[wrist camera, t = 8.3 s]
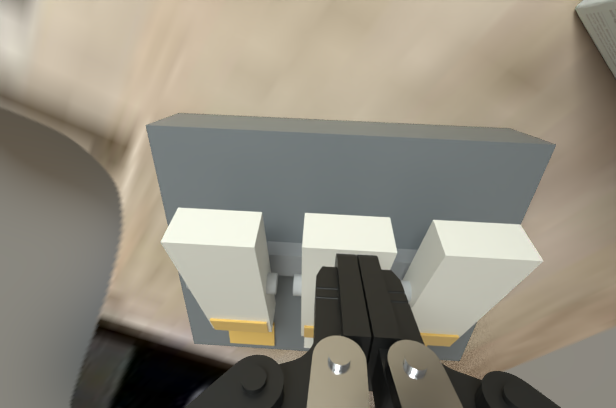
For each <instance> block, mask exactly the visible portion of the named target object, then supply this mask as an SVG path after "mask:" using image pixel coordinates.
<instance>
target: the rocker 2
mask: <svg viewBox="0 0 616 408" xmlns="http://www.w3.org/2000/svg"><path fill="white" fill-rule="evenodd" d="M542 262H543V260H542V258H541V256H540V255H539V253H538V252H537V250H536V249H535V247H534V245H533V244H532V242H531V241H530V239H529V238H528V236H527V234H526V233H525V231H524V230H523V228H522V227H521V225H520V224H502V223H484V222H465V221H447V220H433V221H432V223H431V225H430V227H429V229H428V231H427V233H426V235H425V237H424V239H423V241H422V243H421V245H420V247H419V249H418V251H417V253H416V255H415V257H414V258H413V260H412V262H411V264H410V266H409V268H408V270H407V272H406V274H405V276H404V278H403V280H401V283H402V285H403V288H404V291H405V294H406V296H407V299H408V304H410V307H411V310H412V312H413V315H414V318H415V321H416V323H417V326H418V329H419V331H420V334H421V337H422V339H423V342H424V344H425V345H432V346H447V347H450V346H451V345H452V344H453V343H454V342H455V341H456V340H458V339H459V338H460V337H461V336H462V335H463V334H464V333H465V332H466V331H467V330H468V329H470V328H471V327H472V326H473V325H474V324H475V323H476V322H477V321H478V320H479V319H480V318H482V317H483V316H484V315H485V314H486V313H487V312H488V311H489V310H490V309H491V308H493V307H494V306H495V305H496V304H497V303H498V302H499V301H500V300H501V299H502V298H504V297H505V296H506V295H507V294H508V293H509V292H510V291H511V290H512V289H513V288H515V287H516V286H517V285H518V284H519V283H520V282H521V281H522V280H523V279H524V278H526V277H527V276H528V275H529V274H530V273H531V272H532V271H533V270H534V269H535V268H537V267H538V266H539V265H540V264H541V263H542Z"/></svg>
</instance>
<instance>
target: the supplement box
mask: <svg viewBox="0 0 616 408" xmlns="http://www.w3.org/2000/svg"><path fill="white" fill-rule="evenodd" d="M575 10H576V11H577V13H578V16H579V17H580V19H581V21H582V22H583V24H584V26H585V28H586V29H587V31H588V33H589V34H590V36H591V38H592V39H593V41H594V43H595V45H596V47H597V48H598V50H599V51H600V53H601V55H602V56H603V58H604V60H605V62H606V63H607V65H608V67H609V68H610V70H611V71H612V73H613V75H614V77H615V78H616V0H583V1H582V2H581V3H579V4H578V5H577V6H576V8H575Z"/></svg>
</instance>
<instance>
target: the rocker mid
mask: <svg viewBox="0 0 616 408" xmlns="http://www.w3.org/2000/svg"><path fill="white" fill-rule="evenodd" d="M336 253H339V254H356V255H357V254H358V255H376V256H377V257H378V260H379V263H380V267H381V270H390V269H391V267H392V264H393V262H394V260H395V257H396V255H397V248H396V244H395V239H394V234H393V229H392V224H391V219H390V217H373V216H355V215H336V214H318V213H305V217H304V229H303V241H302V274H294V282H293V296H301V336H304V337H308V338H313V335H314V303H315V287H316V275H317V274H318V272H319V270H320V269H321V267H322V266H325V267H335V257H336Z"/></svg>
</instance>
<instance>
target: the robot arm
mask: <svg viewBox="0 0 616 408" xmlns="http://www.w3.org/2000/svg"><path fill="white" fill-rule="evenodd" d="M369 391H373V396H374V402H375V407H374V408H561V407H559V406H558V405H556V404H555V403H554V402H552V401H551V400H550V399H548V398H547V397H546V396H544V395H543V394H542V393H540V392H539V391H537V390H536V389H534V388H533V387H532V386H531V385H529V384H528V383H526V382H525V381H523V380H522V379H520V378H518V377H517V376H514V375H512V374H509V373H506V372H501V371H493V372H489V373H487V374H486V375H485V376H484V378H483V379H482V380H480V379H477V378H474V377H471V376H469V375H466V374H463V373H460V372H457V371H455V370H452V369H450V368H448V367H447V366H445V365H443V364H442V363H441V361H440V359H439V358H438V357H437V355H436V354H435V353H434V352H433V351H432V350H431V349H429V348H428V347H426V346H425V344H424V342H423V339H422V337H421V334H420V331H419V329H418V326H417V323H416V321H415V318H414V315H413V312H412V310H411V307H410V304H408V299H407V296H406V294H405V291H404V288H403V285H402V283H401V280H400V279H399V278H398V277H397V276H396V275H395V274H394V273H393V272H392V270H381V267H380V263H379V260H378V257H377V256H376V255H358V254H357V255H356V254H339V253H336V257H335V267H325V266H322V267H321V269H320V270H319V272H318V274H317V275H316V287H315V303H314V335H313V345H312V347H311V348H310V349H309V351H308V352H307V353H306V354H305V355H303V356H302V357H300V358H298V359H296V360H293V361H290V362H286V363H282V364H278V363H277V362H276V361H275V360H273V359H272V358H270V357H267V356H264V355H252V356H248V357H246V358H244V359H242V360H240V361H239V362H237V363H236V364H235V365H234V366H233V367H231V368H230V369H229V370H228V371H227V372H226V373H224V374H223V375H222V376H221V377H220V378H219V379H217V380H216V381H215V382H214V383H213V384H212V385H211V386H209V387H208V388H207V389H206V390H205V391H204V392H202V393H201V394H200V395H199V396H198V397H197V398H195V399H194V400H193V401H192V402H191V403H190V404H188V405H187V406H186V407H185V408H370V403H369Z"/></svg>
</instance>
